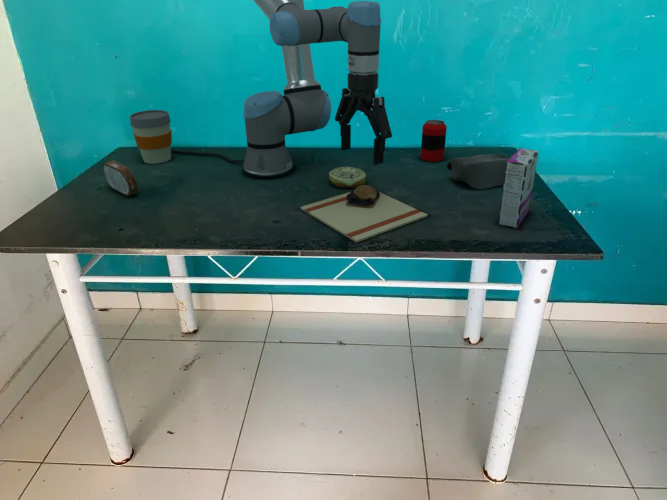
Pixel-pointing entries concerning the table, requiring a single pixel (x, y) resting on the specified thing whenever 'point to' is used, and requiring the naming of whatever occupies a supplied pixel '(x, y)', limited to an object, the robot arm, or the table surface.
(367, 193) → the bread roll
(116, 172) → the tin
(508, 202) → the candy bar box
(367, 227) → the towel
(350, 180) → the decorated donut
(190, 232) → the table surface
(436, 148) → the soda can
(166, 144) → the reusable coffee cup
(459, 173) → the gray bottle
